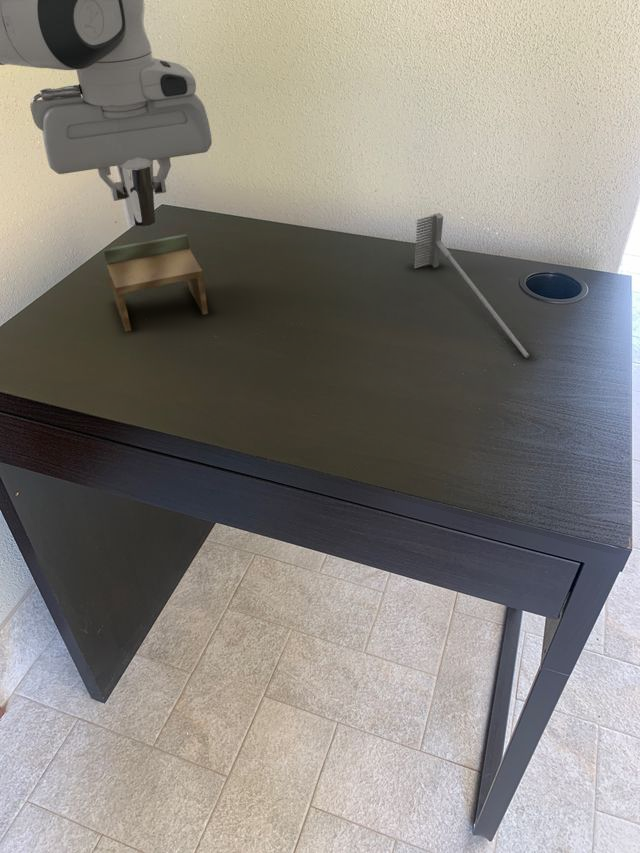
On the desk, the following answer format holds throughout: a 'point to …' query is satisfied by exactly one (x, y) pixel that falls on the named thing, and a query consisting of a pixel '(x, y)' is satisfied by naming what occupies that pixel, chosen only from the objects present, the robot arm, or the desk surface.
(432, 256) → the brush
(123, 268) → the bench
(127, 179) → the milkshake
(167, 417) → the desk surface
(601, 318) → the desk surface
